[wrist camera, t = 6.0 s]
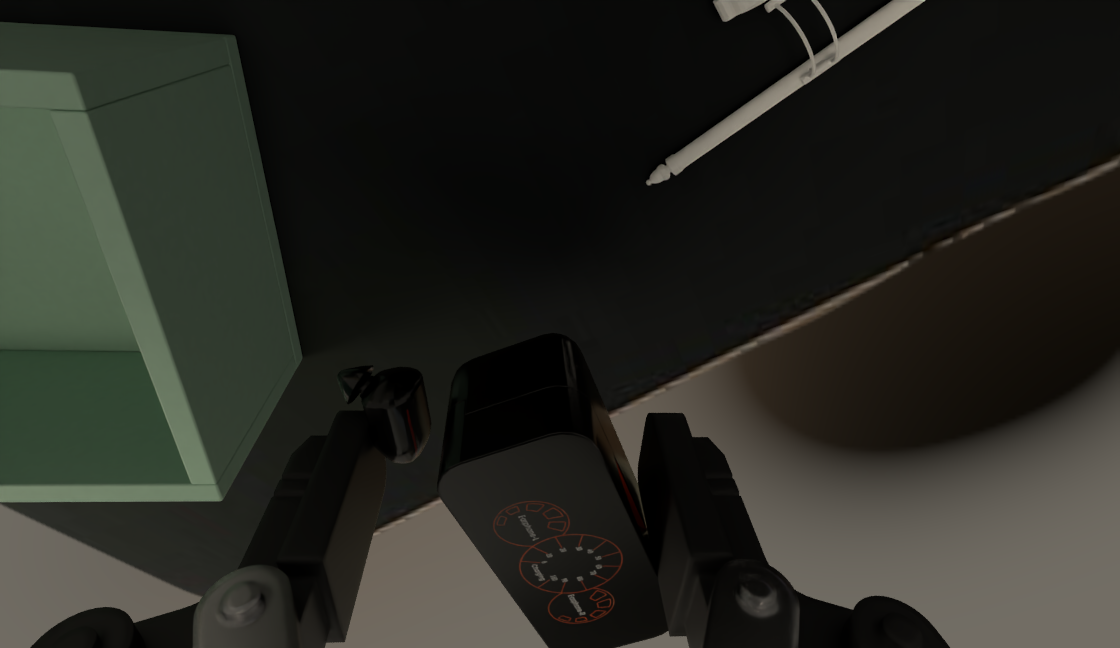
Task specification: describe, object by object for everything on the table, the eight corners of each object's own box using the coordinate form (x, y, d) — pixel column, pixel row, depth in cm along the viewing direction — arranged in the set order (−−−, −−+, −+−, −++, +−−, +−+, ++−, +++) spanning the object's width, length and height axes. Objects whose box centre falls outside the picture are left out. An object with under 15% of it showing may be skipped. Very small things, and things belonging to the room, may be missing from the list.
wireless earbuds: (555, 280, 11) (569, 384, 8) (651, 507, 15) (682, 630, 12) (342, 356, 12) (290, 476, 9) (485, 555, 16) (479, 684, 13)
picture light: (650, 188, 23) (661, 207, 21) (587, 94, 21) (593, 106, 19) (1008, -63, 19) (1059, -66, 17) (973, -205, 17) (1026, -225, 15)
